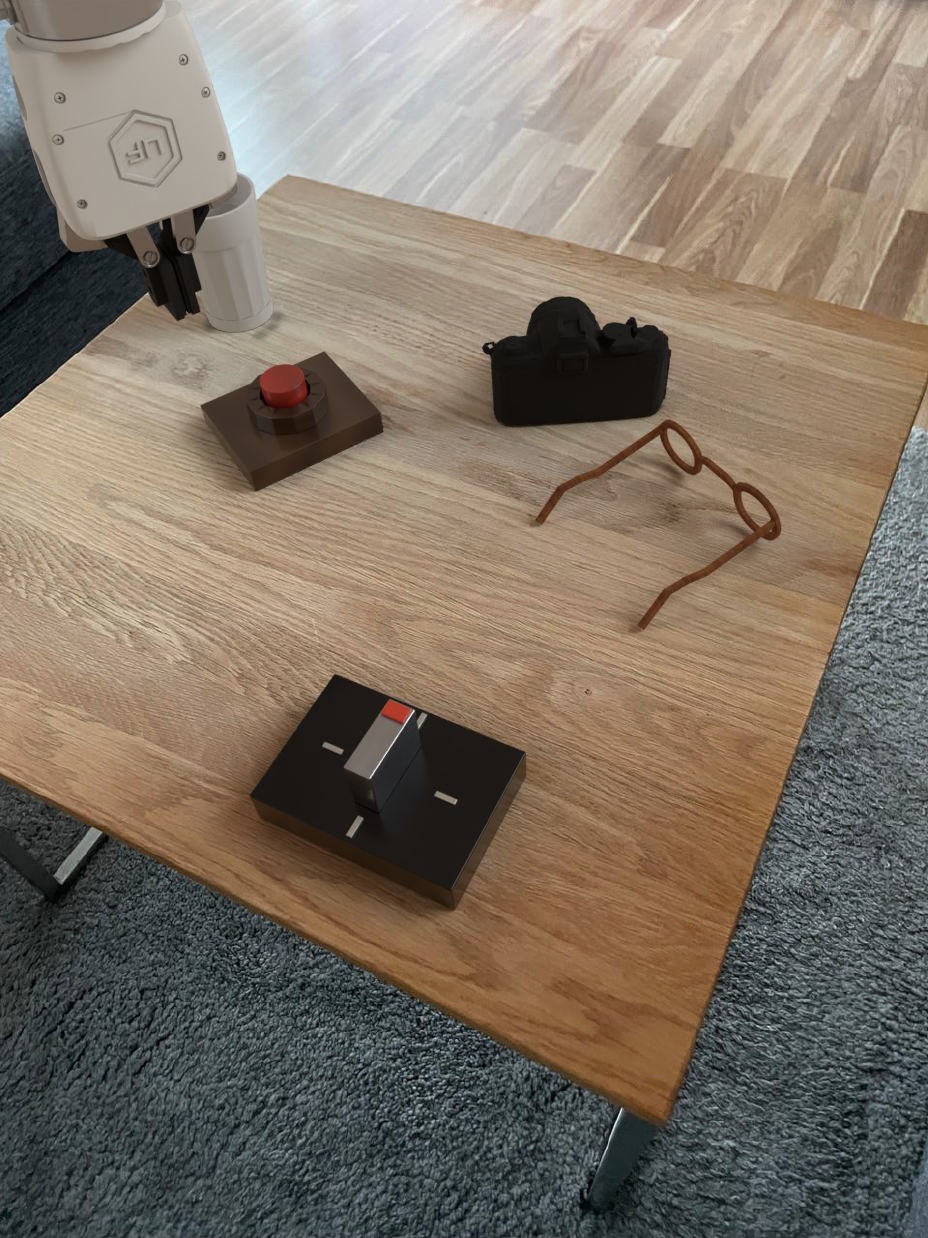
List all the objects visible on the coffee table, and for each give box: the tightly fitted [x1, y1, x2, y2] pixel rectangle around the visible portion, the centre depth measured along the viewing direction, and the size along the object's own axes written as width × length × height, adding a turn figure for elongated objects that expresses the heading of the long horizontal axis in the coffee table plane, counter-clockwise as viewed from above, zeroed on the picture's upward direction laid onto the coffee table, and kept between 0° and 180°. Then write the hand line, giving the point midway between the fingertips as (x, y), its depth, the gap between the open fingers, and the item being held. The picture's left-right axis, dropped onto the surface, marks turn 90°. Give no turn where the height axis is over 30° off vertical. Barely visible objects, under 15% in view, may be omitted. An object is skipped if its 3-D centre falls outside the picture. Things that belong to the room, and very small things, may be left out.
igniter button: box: [260, 363, 307, 409], centre depth 83 cm, size 4×4×2 cm
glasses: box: [534, 419, 782, 631], centre depth 75 cm, size 13×13×5 cm
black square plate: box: [249, 673, 527, 911], centre depth 64 cm, size 14×10×3 cm
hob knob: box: [344, 699, 421, 813], centre depth 61 cm, size 5×2×4 cm, turn 152°
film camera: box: [481, 295, 672, 427], centre depth 84 cm, size 15×10×9 cm, turn 92°
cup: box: [192, 171, 275, 333], centre depth 93 cm, size 8×8×12 cm
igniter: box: [199, 351, 384, 492], centre depth 85 cm, size 12×10×4 cm
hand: (179, 306), depth 65 cm, fingers closed
